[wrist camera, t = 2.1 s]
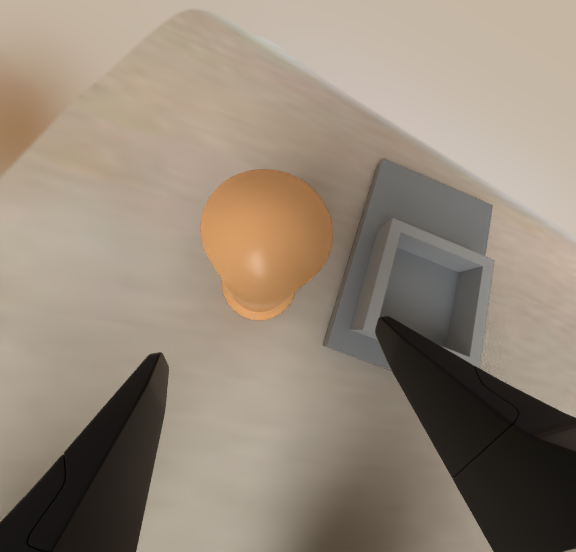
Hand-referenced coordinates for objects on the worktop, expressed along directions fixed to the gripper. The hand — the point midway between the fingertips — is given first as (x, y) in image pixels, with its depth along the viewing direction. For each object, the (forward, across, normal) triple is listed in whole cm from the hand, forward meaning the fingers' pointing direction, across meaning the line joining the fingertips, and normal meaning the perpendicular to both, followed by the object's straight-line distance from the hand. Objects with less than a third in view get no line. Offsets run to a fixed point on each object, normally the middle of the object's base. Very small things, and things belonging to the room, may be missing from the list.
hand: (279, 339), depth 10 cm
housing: (+10, -15, +5) cm, 19 cm away
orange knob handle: (+11, 0, +5) cm, 12 cm away
